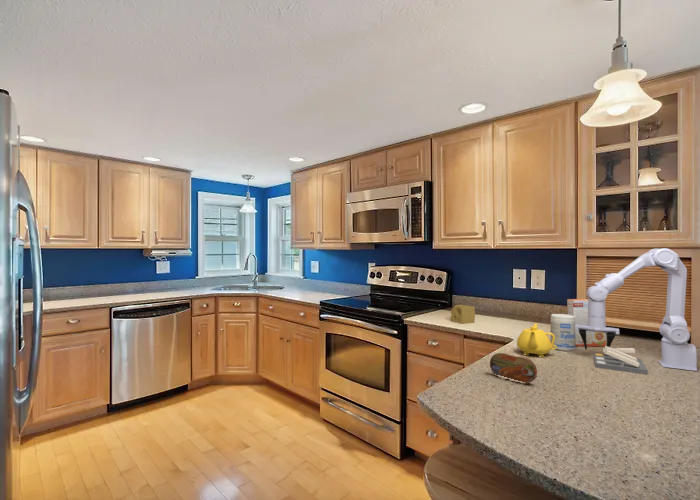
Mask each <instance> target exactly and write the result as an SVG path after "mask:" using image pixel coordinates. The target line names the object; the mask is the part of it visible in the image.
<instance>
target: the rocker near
mask: <svg viewBox="0 0 700 500" xmlns="http://www.w3.org/2000/svg"><path fill="white" fill-rule="evenodd" d="M604 354H605V355H610V356H612V357H615V358H617V359H620V360H622V361H624V362H627V363H629V364H632V365H634V366H636V367H639V365H640V364H639V362H636V361H634V360H632V359H629V358H627V357H624V356H622V355H619V354H617V353H615V352H612V351H610V350H607V349H606V351H605V352H604Z"/></svg>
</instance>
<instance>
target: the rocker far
mask: <svg viewBox="0 0 700 500" xmlns="http://www.w3.org/2000/svg"><path fill="white" fill-rule="evenodd" d="M611 348H612V349H615V350H617V351H620V352H622V353H625V354H636V349H635V348H634V347H630V348H629V347H626V348H625V347H611ZM602 351H603V352H602V353H605V351H606V350H604V347H602Z"/></svg>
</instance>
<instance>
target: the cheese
mask: <svg viewBox="0 0 700 500" xmlns="http://www.w3.org/2000/svg"><path fill="white" fill-rule="evenodd" d="M450 314H451V315H450V318H449V319H450V322H452V321H454V323H456V322H457V324H461V325H466V324H472V323H475V321H476V309H475V306H473V305H466V304H457V305H454V306H453V308H451V310H450ZM465 323H466V324H465Z"/></svg>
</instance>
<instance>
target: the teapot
mask: <svg viewBox="0 0 700 500" xmlns="http://www.w3.org/2000/svg"><path fill="white" fill-rule="evenodd" d="M538 328H539V327H538V323H537V322H536V323H534V324H533V325H532V326H530V328H524V329H523V330H522V331H521V333H520V334H519V336H518V337H517V341H516V346H517V348H518V349H519V350H520V351H521V352H523V354H526V355H525V356H530V354H535V355H537V357H538V356H541V357H540V358H545V355H546V354H548V353H549V352H550V351H552V350H553V351H556V350H557V346H556V345H553V344H554V341H555V336H554V335H553V334H552V333H551V331H549V332H545V331H544V330H543V329H540V328H539V329H538ZM548 335H549V336H551V335H552V337H553V340H552V343H551V341H550V340H551V338H549V336H548ZM553 346H555V348H553ZM523 354H522V355H523Z"/></svg>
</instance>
